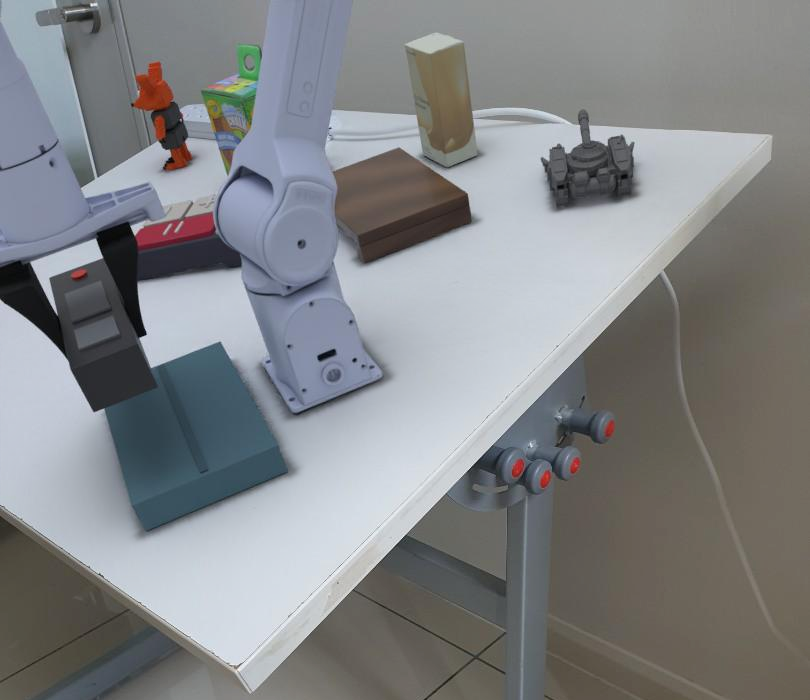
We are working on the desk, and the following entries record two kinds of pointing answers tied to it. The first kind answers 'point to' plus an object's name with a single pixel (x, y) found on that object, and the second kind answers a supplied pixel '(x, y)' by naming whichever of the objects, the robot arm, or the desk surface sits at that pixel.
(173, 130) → the toy animal
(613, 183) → the tank toy
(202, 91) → the chalk box
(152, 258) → the calculator
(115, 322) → the remote
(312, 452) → the desk surface
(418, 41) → the cosmetic box
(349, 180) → the wooden keepsake box
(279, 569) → the desk surface
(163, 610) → the desk surface
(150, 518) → the teal grooved block
